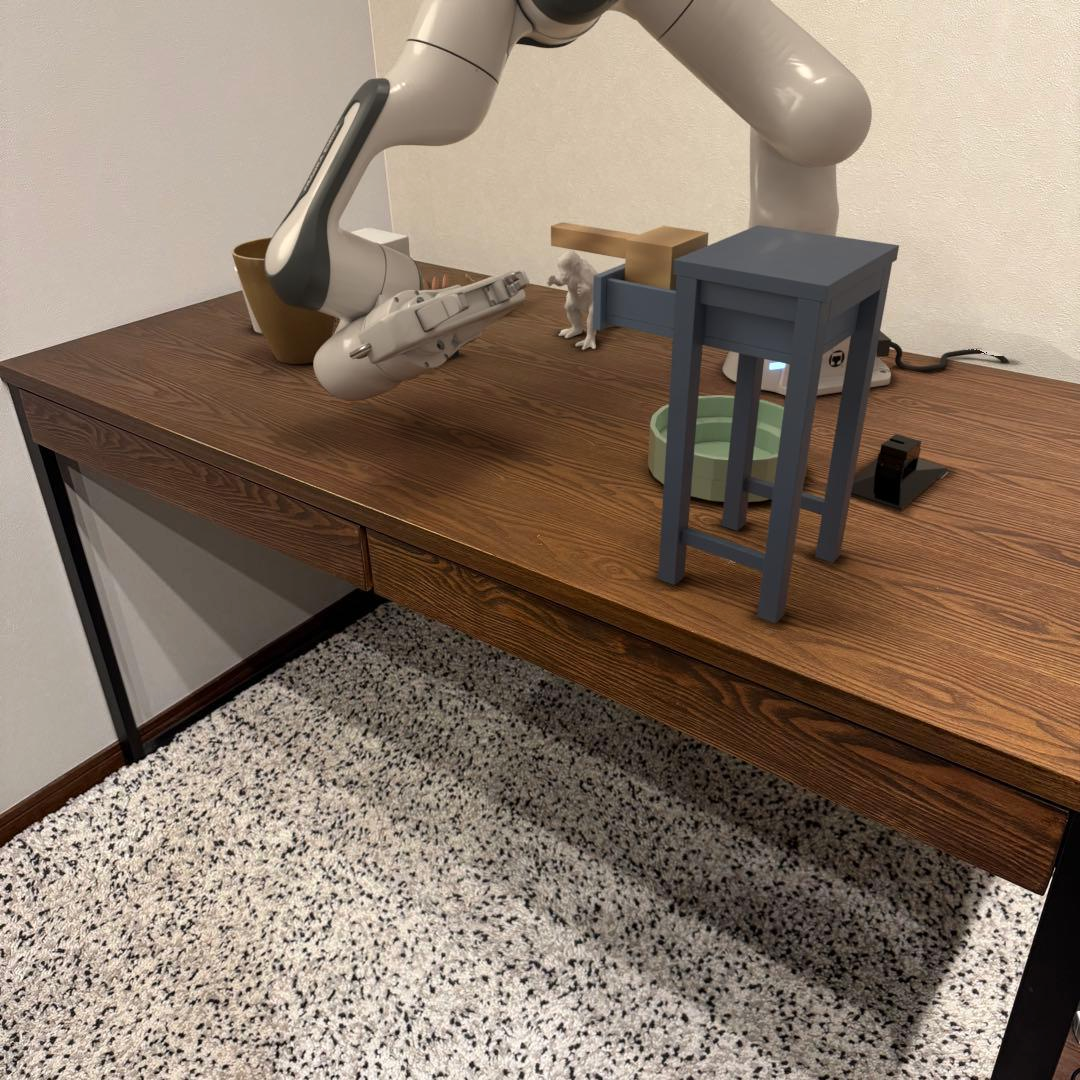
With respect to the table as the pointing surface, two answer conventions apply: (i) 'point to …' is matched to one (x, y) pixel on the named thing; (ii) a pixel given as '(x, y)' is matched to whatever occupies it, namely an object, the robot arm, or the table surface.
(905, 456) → the black slotted stand
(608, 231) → the mallet
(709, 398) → the bowl
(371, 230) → the cosmetics box
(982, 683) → the table surface
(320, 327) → the plant pot
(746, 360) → the nightstand
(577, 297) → the dinosaur figurine
